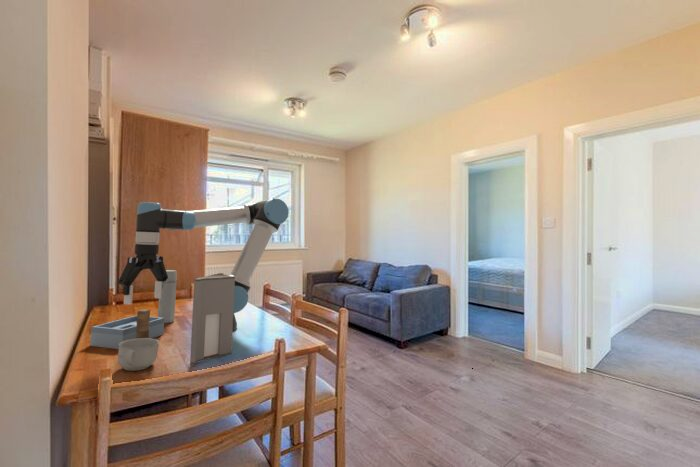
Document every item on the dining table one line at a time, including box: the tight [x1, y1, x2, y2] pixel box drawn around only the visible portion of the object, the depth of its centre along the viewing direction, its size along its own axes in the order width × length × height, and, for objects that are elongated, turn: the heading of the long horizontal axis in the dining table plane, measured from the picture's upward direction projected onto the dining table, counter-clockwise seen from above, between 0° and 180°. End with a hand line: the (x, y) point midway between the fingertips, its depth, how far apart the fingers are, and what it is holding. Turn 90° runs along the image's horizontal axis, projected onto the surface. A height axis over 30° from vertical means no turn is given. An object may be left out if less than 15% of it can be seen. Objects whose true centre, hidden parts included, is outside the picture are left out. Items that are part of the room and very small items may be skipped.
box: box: [89, 314, 165, 350], centre depth 129 cm, size 14×20×7 cm
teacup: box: [117, 338, 160, 372], centre depth 101 cm, size 14×11×8 cm
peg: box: [136, 309, 151, 339], centre depth 119 cm, size 4×4×14 cm
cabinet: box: [189, 272, 235, 366], centre depth 117 cm, size 21×10×28 cm, turn 1°
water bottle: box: [157, 269, 178, 324], centre depth 158 cm, size 9×8×25 cm
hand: (143, 301), depth 119 cm, fingers open, 13 cm apart
